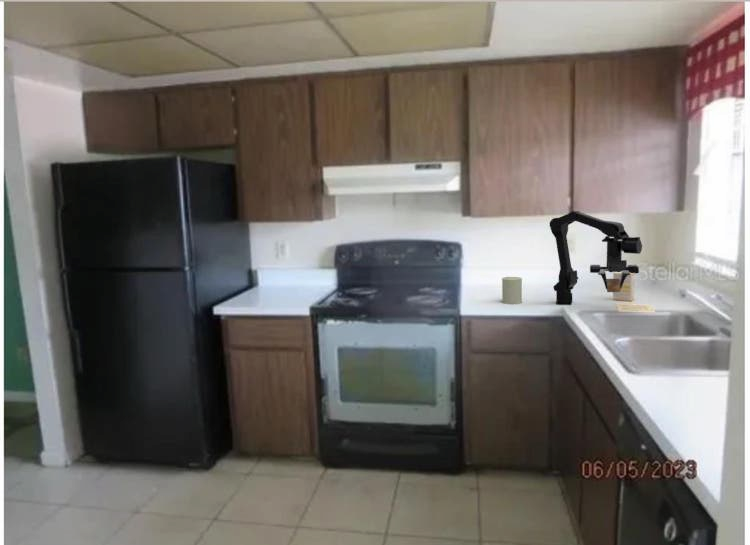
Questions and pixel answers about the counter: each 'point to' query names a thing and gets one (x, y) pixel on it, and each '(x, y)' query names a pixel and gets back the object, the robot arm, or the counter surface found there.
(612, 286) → the walnut cube
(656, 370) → the counter surface
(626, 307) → the letter
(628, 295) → the supplement box
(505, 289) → the can
